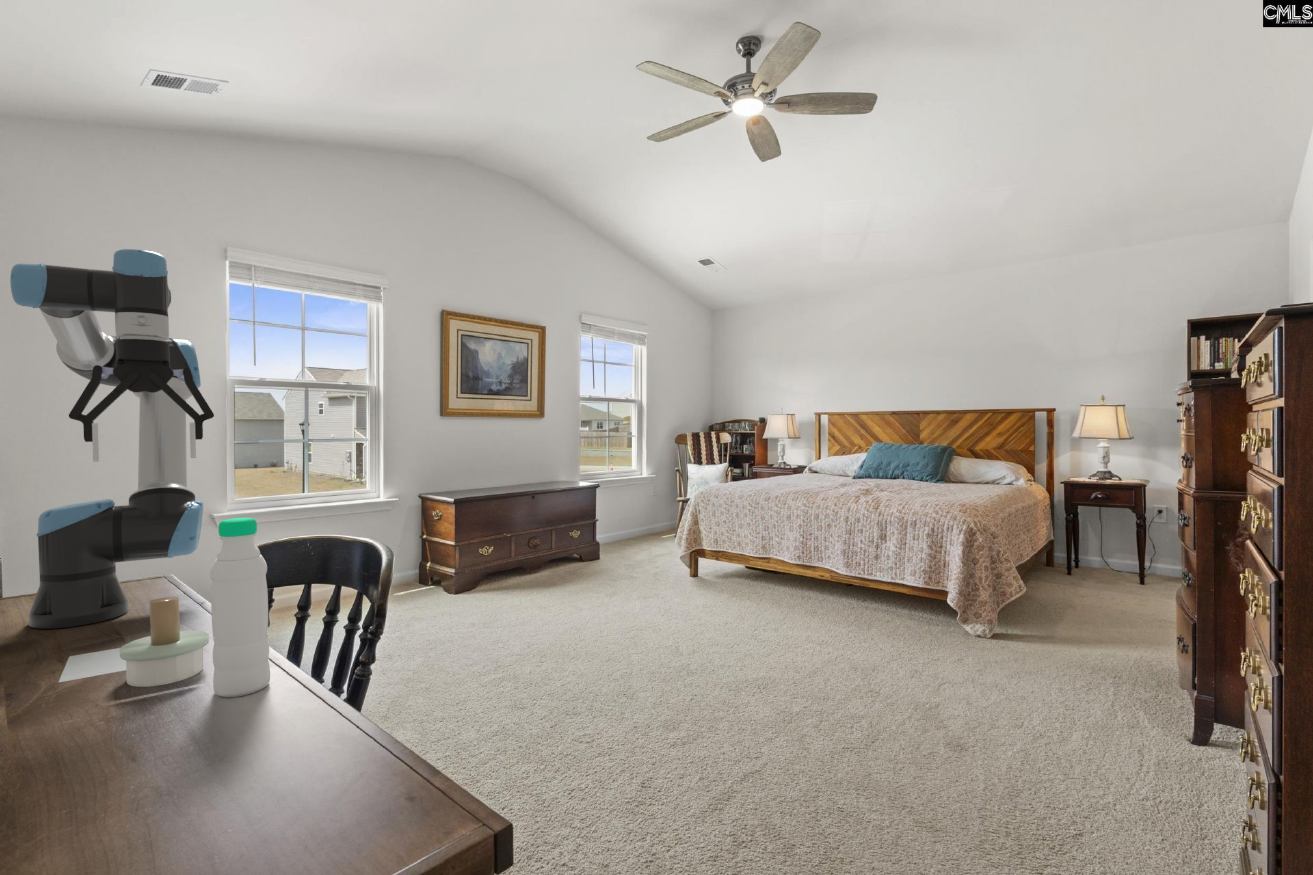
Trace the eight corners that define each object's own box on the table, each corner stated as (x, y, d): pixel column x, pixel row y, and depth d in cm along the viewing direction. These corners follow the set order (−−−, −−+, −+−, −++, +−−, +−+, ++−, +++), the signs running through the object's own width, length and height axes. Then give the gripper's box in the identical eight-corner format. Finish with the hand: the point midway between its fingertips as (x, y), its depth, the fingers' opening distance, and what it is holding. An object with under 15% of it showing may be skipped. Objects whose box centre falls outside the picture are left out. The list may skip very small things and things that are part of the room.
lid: (121, 646, 103) (120, 598, 103) (206, 632, 110) (205, 587, 110) (118, 666, 94) (116, 614, 94) (210, 650, 101) (209, 601, 101)
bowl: (128, 674, 103) (127, 646, 103) (201, 660, 109) (201, 634, 109) (125, 694, 96) (124, 663, 95) (204, 678, 101) (203, 649, 101)
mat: (69, 658, 110) (69, 656, 110) (173, 641, 119) (173, 639, 119) (58, 684, 99) (58, 682, 99) (173, 663, 108) (173, 661, 108)
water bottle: (203, 693, 96) (198, 521, 95) (252, 676, 102) (247, 514, 101) (231, 702, 92) (226, 524, 92) (280, 684, 99) (276, 517, 98)
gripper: (44, 332, 107) (49, 463, 107) (228, 342, 122) (231, 457, 122) (51, 337, 113) (55, 461, 113) (225, 346, 128) (228, 455, 128)
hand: (146, 459), depth 118 cm, fingers open, 13 cm apart
